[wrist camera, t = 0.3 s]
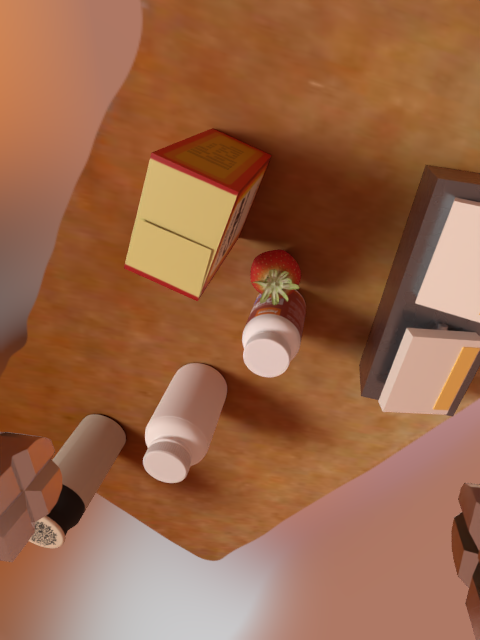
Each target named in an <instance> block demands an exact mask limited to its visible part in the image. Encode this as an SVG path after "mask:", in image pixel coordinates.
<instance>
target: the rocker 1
mask: <svg viewBox="0 0 480 640" xmlns="http://www.w3.org/2000/svg"><path fill="white" fill-rule="evenodd" d="M415 303H416V304H419V305H423V306H426V307H429V308H432V309H436V310H439V311H442V312H446V313H449V314H452V315H456V316H459V317H462V318H466V319H469V320H472V321H475V322H479V323H480V202H475V201H470V200H465V199H461V198H456V197H455V199H454V202H453V204H452V207H451V209H450V212H449V215H448V217H447V220H446V222H445V225H444V228H443V230H442V233H441V235H440V238H439V241H438V243H437V246H436V249H435V251H434V254H433V256H432V259H431V262H430V264H429V267H428V269H427V272H426V275H425V277H424V280H423V282H422V285H421V288H420V290H419V293H418V295H417V298H416V301H415Z"/></svg>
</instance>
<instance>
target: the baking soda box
mask: <svg viewBox="0 0 480 640" xmlns="http://www.w3.org/2000/svg"><path fill="white" fill-rule="evenodd" d="M271 156H272V155H270V154H268V153H266V152H263V151H261V150H259V149H257V148H255V147H252V146H250V145H248V144H246V143H244V142H241V141H239V140H237V139H235V138H233V137H231V136H228V135H226V134H224V133H222V132H220V131H217V130H215V129H213V128H212V129H210V130H207V131H205V132H202V133H200V134H197V135H195V136H192V137H190V138H187V139H185V140H182V141H180V142H177V143H175V144H172V145H170V146H167V147H165V148H162V149H160V150H157V151H155V152H152V153H151V157H150V161H149V165H148V170H147V174H146V178H145V182H144V186H143V191H142V195H141V199H140V203H139V207H138V212H137V216H136V220H135V224H134V228H133V233H132V237H131V241H130V245H129V249H128V253H127V258H126V262H125V266H124V268H125V269H127V270H129V271H132V272H134V273H136V274H138V275H140V276H143V277H145V278H147V279H149V280H152V281H154V282H156V283H158V284H161V285H163V286H165V287H167V288H169V289H172V290H174V291H176V292H178V293H181V294H183V295H185V296H187V297H189V298H192V299H194V300H196V301H198V300H199V298H200V297H201V295H202V294H203V292H204V291H205V289H206V288H207V286H208V284H209V283H210V281H211V280H212V278H213V277H214V275H215V274H216V272H217V271H218V269H219V267H220V266H221V264H222V263H223V261H224V260H225V258H226V257H227V255H228V254H229V252H230V250H231V249H232V247H233V246H234V244H235V243H236V241H237V240H238V238H239V236H240V233H241V231H242V228H243V226H244V223H245V221H246V218H247V216H248V213H249V211H250V208H251V206H252V203H253V201H254V198H255V196H256V193H257V191H258V189H259V186H260V184H261V181H262V179H263V176H264V174H265V171H266V169H267V166H268V164H269V161H270V159H271Z"/></svg>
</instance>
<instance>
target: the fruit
mask: <svg viewBox="0 0 480 640" xmlns="http://www.w3.org/2000/svg"><path fill="white" fill-rule="evenodd" d="M300 279H301V270H300V267H299V265H298V263H297V262H296V261H295V259H294V258H293V257H292V256H291V255H290V254H289V253H287V252H286V251H284V250H272V251H267V252H264V253H262V254H260V255H258V256H257V257H256V258H255V259H254V261H253V264H252V267H251V283H252V285H253V286H254V288H255V289H256V290H257V291H258V292H259V293H261V294H262V295H261V298H260V303H264V302H266V300H267V298H268V297H270V298H271V300H272V304H273V305H277V304H278V303H279V299H280V298H285V299H286V300H287V302H288V300H289V299H288V295H290V294H291V293H292V292H293V291H294V290H295V289H299V287H298V284H299V282H300Z"/></svg>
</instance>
